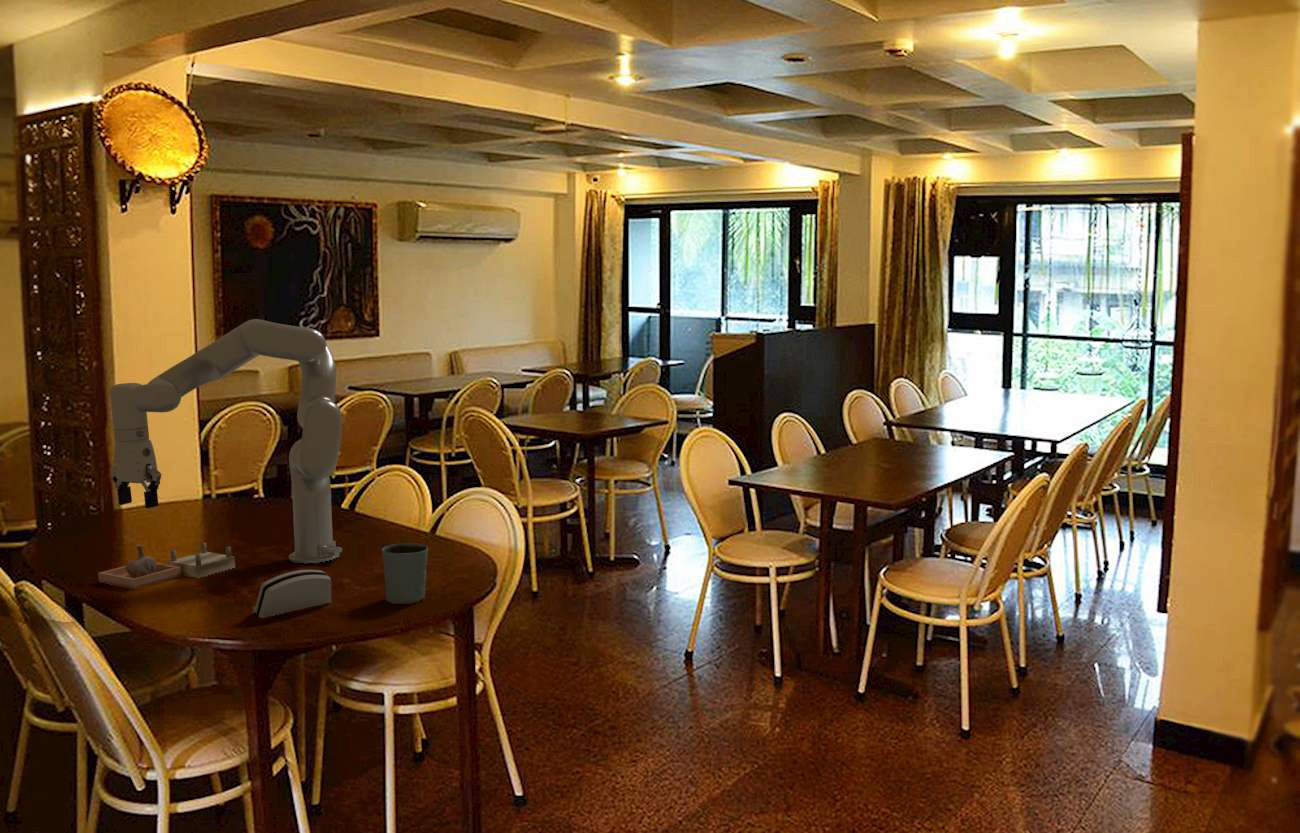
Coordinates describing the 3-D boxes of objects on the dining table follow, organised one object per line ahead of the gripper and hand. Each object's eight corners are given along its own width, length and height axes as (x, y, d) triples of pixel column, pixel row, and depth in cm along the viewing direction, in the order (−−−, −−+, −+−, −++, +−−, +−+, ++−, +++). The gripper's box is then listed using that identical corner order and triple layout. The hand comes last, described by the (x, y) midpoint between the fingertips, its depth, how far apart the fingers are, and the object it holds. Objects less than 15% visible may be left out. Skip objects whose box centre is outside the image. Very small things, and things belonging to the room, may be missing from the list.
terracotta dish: (181, 577, 272) (180, 567, 272) (134, 590, 261) (133, 579, 261) (146, 570, 278) (145, 560, 278) (98, 583, 267) (98, 572, 267)
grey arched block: (321, 598, 254) (327, 561, 250) (331, 609, 251) (337, 571, 247) (250, 614, 242) (255, 575, 239) (259, 625, 239) (264, 586, 236)
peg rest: (235, 568, 280) (234, 546, 280) (198, 578, 271) (197, 556, 270) (205, 562, 286) (204, 541, 285) (168, 572, 276) (167, 551, 275)
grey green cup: (375, 599, 253) (373, 547, 251) (413, 590, 260) (412, 540, 258) (399, 608, 246) (397, 555, 244) (438, 599, 253) (436, 547, 251)
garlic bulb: (145, 581, 265) (143, 548, 264) (117, 580, 267) (115, 547, 266) (164, 573, 273) (162, 541, 272) (138, 571, 274) (136, 540, 273)
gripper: (169, 434, 264) (176, 505, 267) (122, 431, 273) (129, 499, 275) (141, 439, 258) (148, 511, 260) (94, 435, 266) (101, 505, 269)
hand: (138, 505), depth 268 cm, fingers open, 9 cm apart
